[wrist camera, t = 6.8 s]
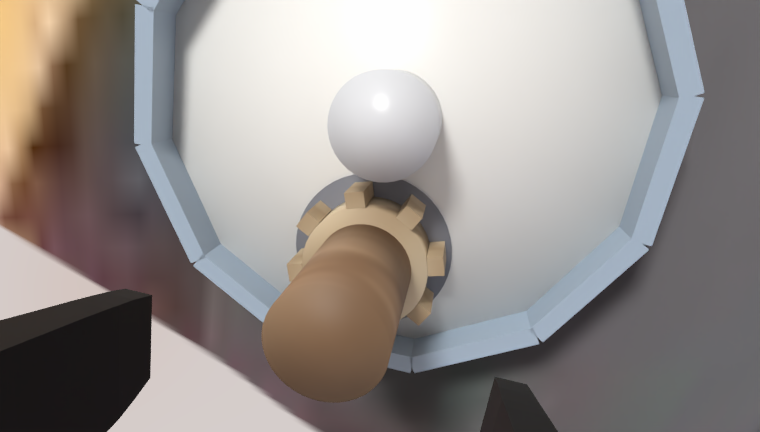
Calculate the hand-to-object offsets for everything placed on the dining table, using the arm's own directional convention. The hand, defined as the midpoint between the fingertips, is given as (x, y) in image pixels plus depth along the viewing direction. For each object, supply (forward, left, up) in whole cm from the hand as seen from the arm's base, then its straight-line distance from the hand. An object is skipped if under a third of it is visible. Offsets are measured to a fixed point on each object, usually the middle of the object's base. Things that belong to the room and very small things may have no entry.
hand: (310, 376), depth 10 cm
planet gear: (0, 0, -7) cm, 7 cm away
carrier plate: (+2, -4, -8) cm, 9 cm away
